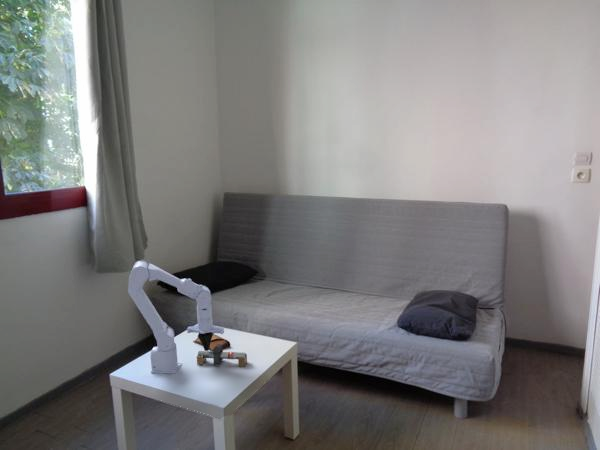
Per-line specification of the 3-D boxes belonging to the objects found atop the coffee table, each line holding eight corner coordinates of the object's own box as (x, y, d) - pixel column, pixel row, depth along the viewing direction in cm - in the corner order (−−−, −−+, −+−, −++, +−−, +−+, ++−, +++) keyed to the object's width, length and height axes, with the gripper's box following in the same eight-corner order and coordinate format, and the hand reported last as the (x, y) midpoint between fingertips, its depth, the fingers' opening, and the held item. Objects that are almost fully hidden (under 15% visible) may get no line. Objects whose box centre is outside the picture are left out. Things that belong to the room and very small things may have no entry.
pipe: (197, 364, 180) (196, 353, 179) (200, 360, 184) (200, 348, 183) (244, 366, 177) (243, 355, 176) (247, 362, 181) (246, 350, 180)
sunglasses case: (190, 341, 202) (196, 327, 203) (202, 344, 207) (208, 330, 208) (214, 353, 190) (220, 337, 191) (226, 356, 194) (232, 341, 196)
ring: (213, 365, 178) (212, 350, 177) (218, 358, 184) (217, 343, 182) (218, 365, 178) (217, 350, 177) (223, 358, 183) (222, 343, 182)
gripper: (183, 320, 175) (185, 353, 178) (219, 321, 173) (221, 354, 175) (190, 314, 182) (192, 345, 184) (224, 315, 180) (226, 347, 182)
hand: (207, 349), depth 180 cm, fingers closed
